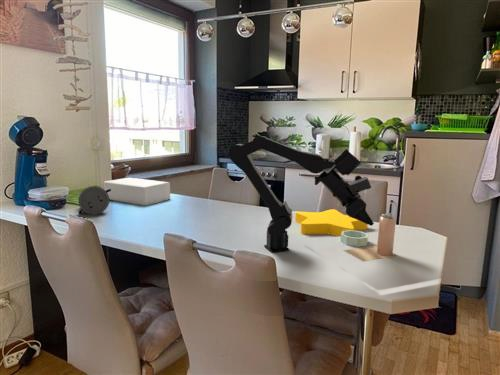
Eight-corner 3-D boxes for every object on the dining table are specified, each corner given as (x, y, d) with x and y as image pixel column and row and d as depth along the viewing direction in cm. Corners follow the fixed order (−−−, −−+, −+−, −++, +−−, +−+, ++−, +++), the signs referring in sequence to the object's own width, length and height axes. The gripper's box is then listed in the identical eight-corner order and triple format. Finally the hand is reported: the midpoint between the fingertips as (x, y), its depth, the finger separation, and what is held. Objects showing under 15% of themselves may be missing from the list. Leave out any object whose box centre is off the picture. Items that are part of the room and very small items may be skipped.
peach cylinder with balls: (384, 257, 113) (387, 216, 110) (373, 251, 117) (376, 212, 115) (395, 255, 115) (399, 214, 112) (385, 250, 119) (388, 211, 117)
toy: (123, 204, 157) (113, 195, 183) (105, 179, 153) (98, 174, 179) (87, 227, 151) (83, 215, 177) (68, 203, 147) (66, 194, 173)
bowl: (351, 250, 121) (352, 239, 121) (335, 241, 130) (336, 231, 129) (372, 247, 125) (373, 236, 124) (356, 239, 133) (356, 229, 132)
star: (345, 208, 164) (385, 226, 137) (344, 218, 165) (384, 237, 138) (284, 211, 156) (314, 231, 128) (283, 221, 156) (313, 243, 129)
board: (362, 264, 109) (363, 261, 109) (342, 253, 118) (343, 250, 118) (398, 258, 114) (398, 255, 114) (376, 248, 124) (377, 245, 123)
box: (145, 206, 180) (144, 187, 179) (104, 199, 194) (103, 181, 193) (170, 199, 197) (169, 182, 195) (130, 193, 211) (130, 177, 209)
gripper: (360, 172, 104) (397, 211, 104) (352, 165, 122) (384, 198, 122) (331, 197, 106) (367, 235, 106) (327, 186, 124) (358, 219, 125)
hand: (370, 220), depth 115 cm, fingers open, 9 cm apart
